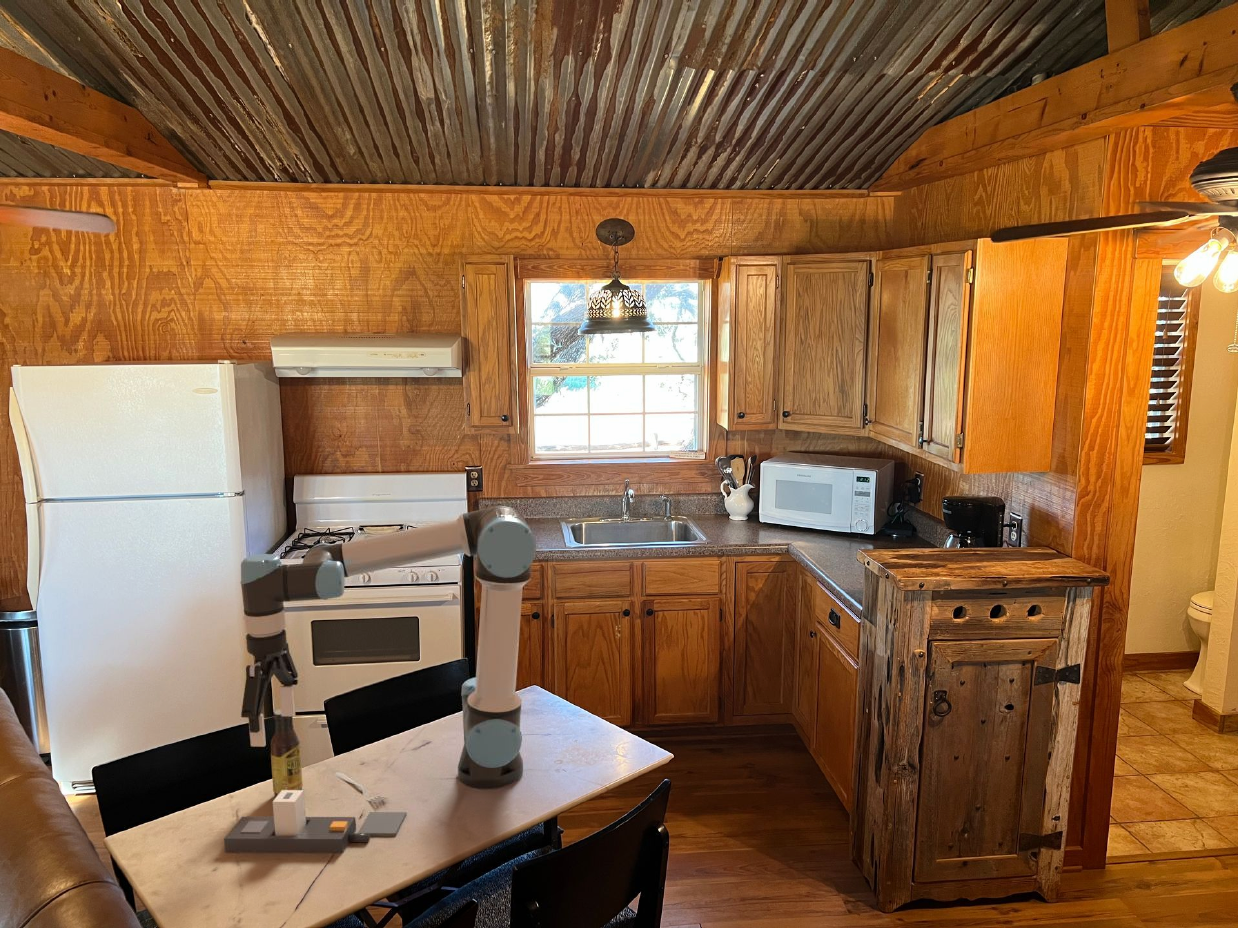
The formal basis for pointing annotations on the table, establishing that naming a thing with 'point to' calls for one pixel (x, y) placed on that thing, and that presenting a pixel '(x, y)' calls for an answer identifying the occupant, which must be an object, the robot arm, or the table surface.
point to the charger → (289, 813)
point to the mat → (382, 823)
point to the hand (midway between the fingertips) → (274, 730)
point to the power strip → (313, 839)
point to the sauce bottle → (285, 755)
